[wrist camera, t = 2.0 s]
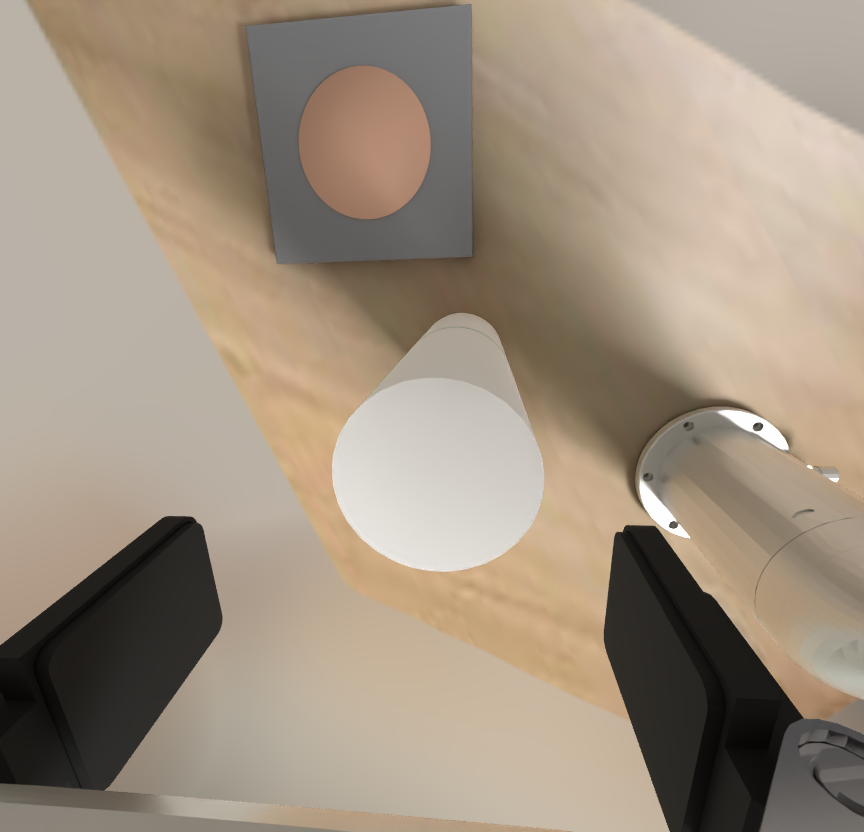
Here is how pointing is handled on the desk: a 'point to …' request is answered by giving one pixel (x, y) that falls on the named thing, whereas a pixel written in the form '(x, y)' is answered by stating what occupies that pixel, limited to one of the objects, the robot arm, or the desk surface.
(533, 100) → the desk surface
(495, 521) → the cylindrical container
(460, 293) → the desk surface
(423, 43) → the board
